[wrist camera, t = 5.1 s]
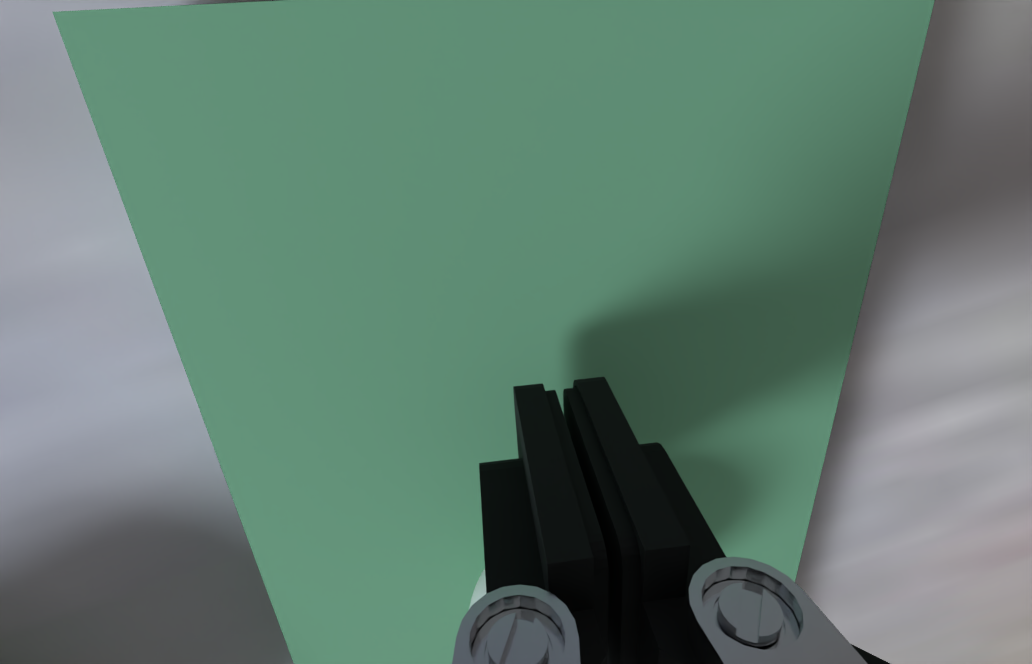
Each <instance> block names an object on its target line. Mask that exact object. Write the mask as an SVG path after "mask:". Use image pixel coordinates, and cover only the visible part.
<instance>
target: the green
mask: <svg viewBox="0 0 1032 664" xmlns="http://www.w3.org/2000/svg"><path fill="white" fill-rule="evenodd" d="M934 1H935V0H280V1H260V2H240V3H220V4H200V5H181V6H161V7H141V8H121V9H101V10H81V11H61V12H53V15H54V17H55V20H56V23H57V25H58V28H59V31H60V34H61V36H62V39H63V42H64V44H65V47H66V50H67V52H68V55H69V58H70V61H71V63H72V66H73V69H74V71H75V74H76V77H77V79H78V82H79V85H80V88H81V90H82V93H83V96H84V98H85V101H86V104H87V106H88V109H89V112H90V115H91V117H92V120H93V123H94V125H95V128H96V131H97V133H98V136H99V139H100V142H101V144H102V147H103V150H104V152H105V155H106V158H107V161H108V163H109V166H110V169H111V171H112V174H113V177H114V179H115V182H116V185H117V188H118V190H119V193H120V196H121V198H122V201H123V204H124V206H125V209H126V212H127V215H128V217H129V220H130V223H131V225H132V228H133V231H134V233H135V236H136V239H137V242H138V244H139V247H140V250H141V252H142V255H143V258H144V260H145V263H146V266H147V269H148V271H149V274H150V277H151V279H152V282H153V285H154V287H155V290H156V293H157V296H158V298H159V301H160V304H161V306H162V309H163V312H164V314H165V317H166V320H167V323H168V325H169V328H170V331H171V333H172V336H173V339H174V341H175V344H176V347H177V350H178V352H179V355H180V358H181V360H182V363H183V366H184V369H185V371H186V374H187V377H188V379H189V382H190V385H191V387H192V390H193V393H194V396H195V398H196V401H197V404H198V406H199V409H200V412H201V414H202V417H203V420H204V423H205V425H206V428H207V431H208V433H209V436H210V439H211V441H212V444H213V447H214V450H215V452H216V455H217V458H218V460H219V463H220V466H221V468H222V471H223V474H224V477H225V479H226V482H227V485H228V487H229V490H230V493H231V495H232V498H233V501H234V504H235V506H236V509H237V512H238V514H239V517H240V520H241V522H242V525H243V528H244V531H245V533H246V536H247V539H248V541H249V544H250V547H251V549H252V552H253V555H254V558H255V560H256V563H257V566H258V568H259V571H260V574H261V577H262V579H263V582H264V585H265V587H266V590H267V593H268V595H269V598H270V601H271V604H272V606H273V609H274V612H275V614H276V617H277V620H278V622H279V625H280V628H281V631H282V633H283V636H284V639H285V641H286V644H287V647H288V649H289V652H290V655H291V658H292V660H293V663H294V664H452V660H453V654H454V648H455V642H456V636H457V633H458V630H459V627H460V624H461V621H462V619H463V617H464V616H465V614H466V613H467V612H468V610H469V607H470V602H471V598H472V595H473V592H474V589H475V586H476V584H477V582H478V580H479V577H480V575H481V573H482V572H483V570H484V569H485V560H484V543H483V525H482V508H481V491H480V473H479V463H483V462H492V461H500V460H509V459H517V458H518V446H517V433H516V420H515V408H514V394H513V386H522V385H531V384H540V383H543V385H544V388H545V391H549V390H555V391H556V393H557V396H558V399H559V402H560V405H561V408H562V412H563V415H564V407H563V390H564V389H567V388H573V382H574V380H577V379H587V378H596V377H605V379H606V380H607V382H608V384H609V386H610V388H611V390H612V392H613V394H614V396H615V398H616V400H617V402H618V404H619V406H620V408H621V410H622V412H623V414H624V415H625V417H626V419H627V421H628V423H629V425H630V427H631V429H632V431H633V433H634V435H635V437H636V439H637V441H638V443H639V444H646V443H654V442H658V443H660V444H661V445H662V446H663V448H664V449H665V451H666V452H667V454H668V456H669V458H670V459H671V461H672V463H673V465H674V466H675V468H676V470H677V472H678V473H679V475H680V477H681V479H682V480H683V482H684V484H685V486H686V487H687V489H688V491H689V492H690V494H691V496H692V498H693V499H694V501H695V503H696V505H697V506H698V508H699V510H700V512H701V513H702V515H703V517H704V519H705V520H706V522H707V524H708V526H709V527H710V529H711V531H712V533H713V534H714V536H715V538H716V540H717V541H718V543H719V545H720V547H721V548H722V550H723V552H724V554H725V555H726V557H741V558H749V559H753V560H756V561H759V562H762V563H765V564H768V565H770V566H772V567H774V568H775V569H777V570H779V571H780V572H782V573H784V574H785V575H787V576H788V577H789V578H791V579H792V580H793V581H794V582H795V579H796V575H797V571H798V567H799V563H800V559H801V554H802V550H803V546H804V542H805V538H806V534H807V529H808V525H809V521H810V517H811V513H812V509H813V504H814V500H815V496H816V492H817V488H818V484H819V479H820V475H821V471H822V467H823V463H824V459H825V455H826V450H827V446H828V442H829V438H830V434H831V430H832V425H833V421H834V417H835V413H836V409H837V405H838V400H839V396H840V392H841V388H842V384H843V380H844V375H845V371H846V367H847V363H848V359H849V355H850V351H851V346H852V342H853V338H854V334H855V330H856V326H857V321H858V317H859V313H860V309H861V305H862V301H863V296H864V292H865V288H866V284H867V280H868V276H869V271H870V267H871V263H872V259H873V255H874V251H875V247H876V242H877V238H878V234H879V230H880V226H881V222H882V217H883V213H884V209H885V205H886V201H887V197H888V192H889V188H890V184H891V180H892V176H893V172H894V167H895V163H896V159H897V155H898V151H899V147H900V143H901V138H902V134H903V130H904V126H905V122H906V118H907V113H908V109H909V105H910V101H911V97H912V93H913V88H914V84H915V80H916V76H917V72H918V68H919V63H920V59H921V55H922V51H923V47H924V43H925V39H926V34H927V30H928V26H929V22H930V18H931V14H932V9H933V5H934Z"/></svg>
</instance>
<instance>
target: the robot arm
mask: <svg viewBox="0 0 1032 664" xmlns="http://www.w3.org/2000/svg"><path fill="white" fill-rule="evenodd" d="M513 394H514V408H515V420H516V433H517V446H518V458H517V459H509V460H500V461H492V462H483V463H479V473H480V491H481V508H482V525H483V543H484V560H485V577H486V594H485V595H484V596H483V597H482V598H480V599H479V600H478V601H477V602H475V603H474V604H473V605H472V606H471V607H470V609H469V610H468V612H467V613H466V614H465V616H464V617H463V619H462V621H461V624H460V627H459V630H458V633H457V636H456V642H455V648H454V654H453V660H452V664H890V663H888V662H886V661H884V660H882V659H880V658H878V657H876V656H874V655H872V654H870V653H868V652H866V651H864V650H862V649H860V648H858V647H856V646H854V645H852V644H850V643H849V642H848V641H847V640H846V638H845V637H844V636H843V635H842V634H841V633H840V632H839V630H838V629H837V628H836V627H835V626H834V625H833V624H832V622H831V621H830V620H829V619H828V618H827V617H826V616H825V614H824V613H823V612H822V611H821V610H820V609H819V608H818V606H817V605H816V604H815V603H814V602H813V601H812V600H811V598H810V597H809V596H808V595H807V594H806V593H805V592H804V591H803V589H802V588H800V587H799V586H798V585H797V584H796V583H795V582H794V581H793V580H792V579H791V578H789V577H788V576H787V575H785V574H784V573H782V572H780V571H779V570H777V569H775V568H774V567H772V566H770V565H768V564H765V563H762V562H759V561H756V560H753V559H749V558H741V557H726V555H725V554H724V552H723V550H722V548H721V547H720V545H719V543H718V541H717V540H716V538H715V536H714V534H713V533H712V531H711V529H710V527H709V526H708V524H707V522H706V520H705V519H704V517H703V515H702V513H701V512H700V510H699V508H698V506H697V505H696V503H695V501H694V499H693V498H692V496H691V494H690V492H689V491H688V489H687V487H686V486H685V484H684V482H683V480H682V479H681V477H680V475H679V473H678V472H677V470H676V468H675V466H674V465H673V463H672V461H671V459H670V458H669V456H668V454H667V452H666V451H665V449H664V448H663V446H662V445H661V444H660V443H658V442H654V443H646V444H639V443H638V441H637V439H636V437H635V435H634V433H633V431H632V429H631V427H630V425H629V423H628V421H627V419H626V417H625V415H624V414H623V412H622V410H621V408H620V406H619V404H618V402H617V400H616V398H615V396H614V394H613V392H612V390H611V388H610V386H609V384H608V382H607V380H606V379H605V377H596V378H587V379H577V380H574V382H573V388H567V389H564V390H563V407H564V415H563V412H562V408H561V405H560V402H559V399H558V396H557V393H556V391H555V390H549V391H545V388H544V385H543V383H540V384H531V385H522V386H513Z"/></svg>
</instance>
